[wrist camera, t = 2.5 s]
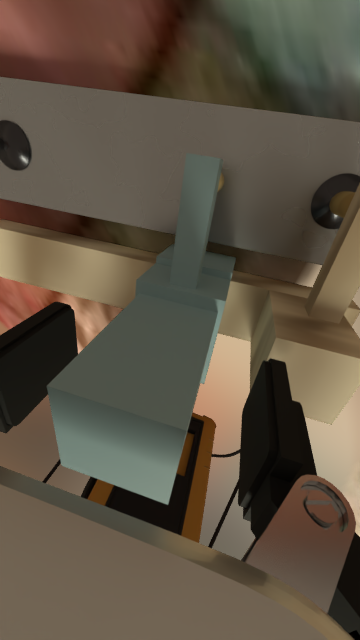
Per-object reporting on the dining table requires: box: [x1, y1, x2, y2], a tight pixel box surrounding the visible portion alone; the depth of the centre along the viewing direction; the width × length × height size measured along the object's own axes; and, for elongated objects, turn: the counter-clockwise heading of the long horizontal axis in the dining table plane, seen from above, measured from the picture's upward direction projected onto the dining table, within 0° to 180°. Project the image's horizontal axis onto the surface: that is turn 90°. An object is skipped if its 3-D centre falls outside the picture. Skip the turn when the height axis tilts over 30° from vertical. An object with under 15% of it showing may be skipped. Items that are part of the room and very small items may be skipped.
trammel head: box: [47, 153, 236, 505], centre depth 11 cm, size 4×10×12 cm, turn 173°
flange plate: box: [0, 77, 360, 265], centre depth 14 cm, size 24×6×1 cm, turn 83°
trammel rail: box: [0, 183, 360, 425], centre depth 13 cm, size 24×9×7 cm, turn 83°
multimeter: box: [43, 413, 240, 548], centre depth 17 cm, size 15×10×20 cm
